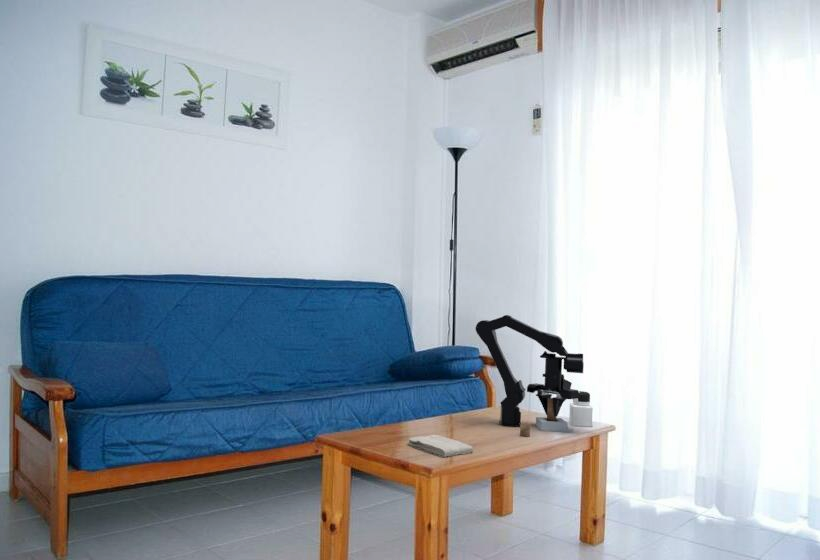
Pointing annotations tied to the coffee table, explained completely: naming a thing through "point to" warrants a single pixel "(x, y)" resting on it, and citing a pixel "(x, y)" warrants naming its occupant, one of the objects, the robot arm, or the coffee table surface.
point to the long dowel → (550, 410)
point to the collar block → (551, 424)
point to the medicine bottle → (581, 410)
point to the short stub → (525, 429)
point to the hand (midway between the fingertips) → (551, 415)
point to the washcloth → (440, 445)
